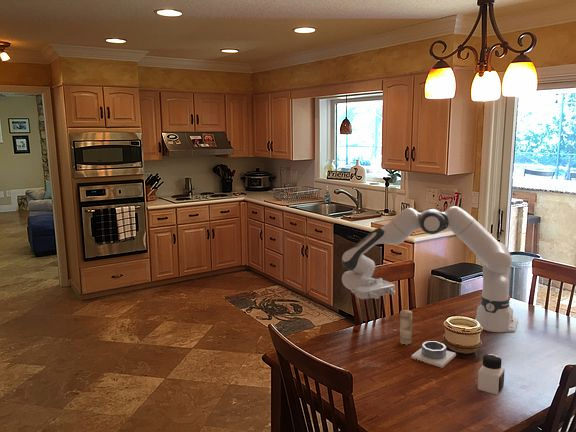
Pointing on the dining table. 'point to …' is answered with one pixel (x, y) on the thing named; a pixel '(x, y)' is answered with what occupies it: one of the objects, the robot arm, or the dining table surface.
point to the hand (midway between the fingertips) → (386, 295)
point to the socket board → (434, 362)
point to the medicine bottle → (491, 374)
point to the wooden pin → (405, 327)
